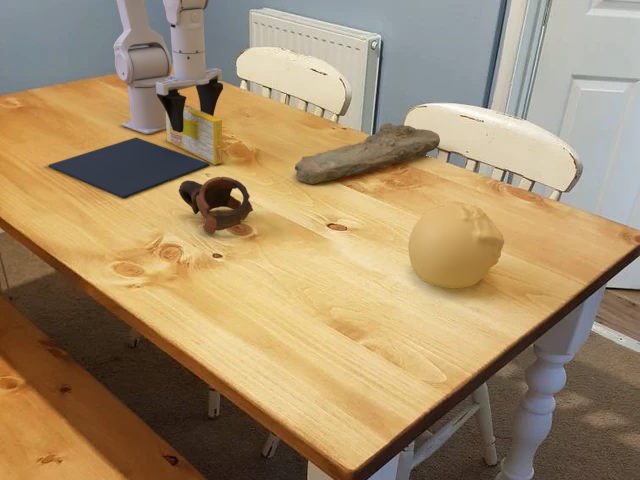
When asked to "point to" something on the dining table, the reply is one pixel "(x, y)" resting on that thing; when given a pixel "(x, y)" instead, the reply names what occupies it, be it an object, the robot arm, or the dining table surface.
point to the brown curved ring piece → (216, 202)
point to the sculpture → (454, 245)
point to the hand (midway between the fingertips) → (192, 126)
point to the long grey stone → (368, 154)
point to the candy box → (198, 135)
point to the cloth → (129, 167)
